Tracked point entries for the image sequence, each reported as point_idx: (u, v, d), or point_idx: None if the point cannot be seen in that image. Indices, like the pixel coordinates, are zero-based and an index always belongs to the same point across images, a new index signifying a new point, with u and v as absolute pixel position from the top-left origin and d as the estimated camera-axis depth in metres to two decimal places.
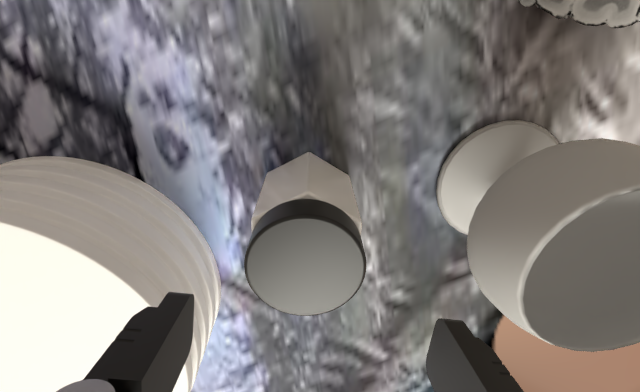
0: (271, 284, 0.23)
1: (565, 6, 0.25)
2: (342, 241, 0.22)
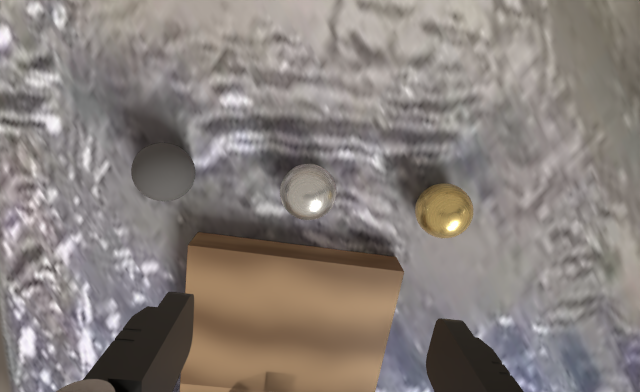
0: None
1: None
2: None
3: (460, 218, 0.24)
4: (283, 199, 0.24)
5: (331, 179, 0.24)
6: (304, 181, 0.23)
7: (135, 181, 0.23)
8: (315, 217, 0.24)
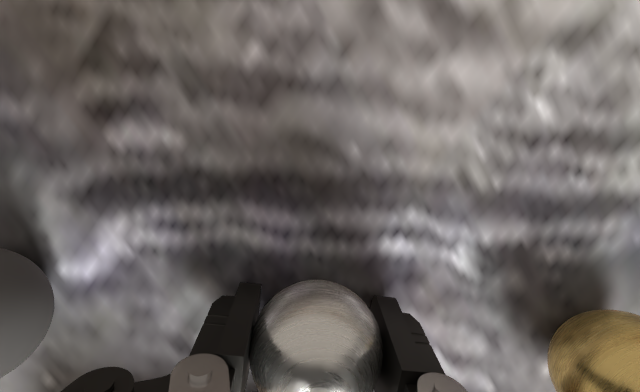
0: None
1: None
2: None
3: None
4: (255, 381, 0.10)
5: (372, 327, 0.10)
6: (306, 351, 0.09)
7: None
8: None
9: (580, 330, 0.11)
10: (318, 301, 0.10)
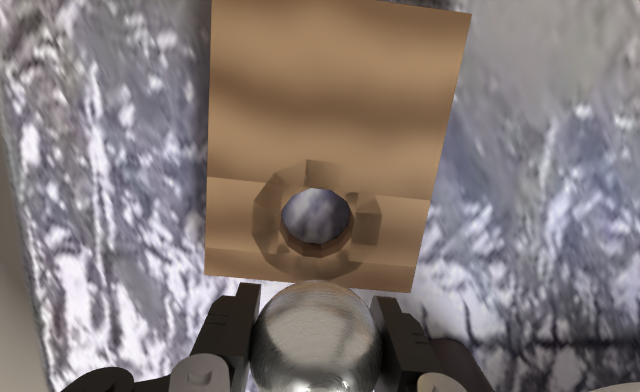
0: None
1: None
2: None
3: None
4: (255, 381, 0.10)
5: (372, 327, 0.10)
6: (306, 351, 0.09)
7: None
8: None
9: None
10: (318, 301, 0.10)
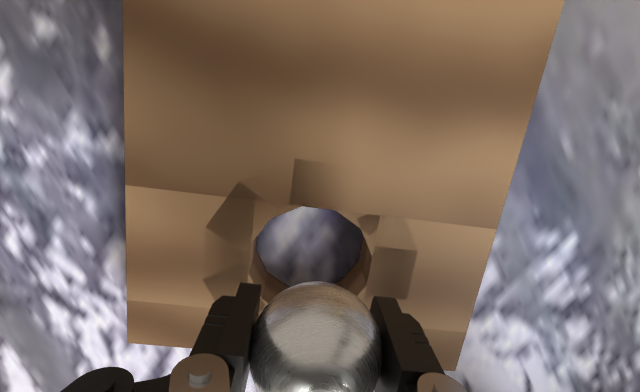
0: None
1: None
2: None
3: None
4: (255, 383, 0.10)
5: (372, 329, 0.10)
6: (306, 353, 0.09)
7: None
8: None
9: None
10: (318, 303, 0.10)
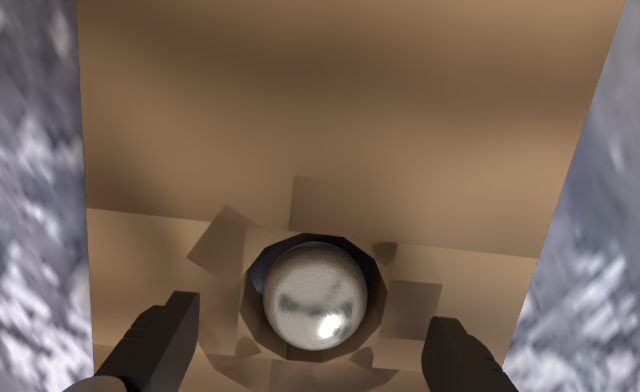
0: None
1: None
2: None
3: None
4: (268, 316, 0.13)
5: (358, 275, 0.13)
6: (307, 288, 0.12)
7: None
8: None
9: None
10: (316, 254, 0.12)
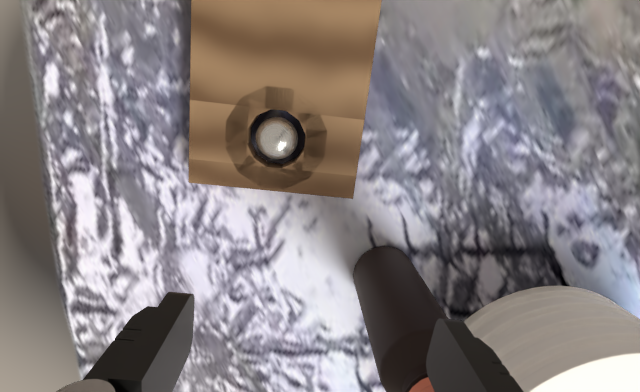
0: None
1: None
2: None
3: None
4: (257, 142, 0.32)
5: (292, 126, 0.33)
6: (271, 126, 0.32)
7: None
8: (281, 155, 0.33)
9: None
10: (275, 117, 0.32)
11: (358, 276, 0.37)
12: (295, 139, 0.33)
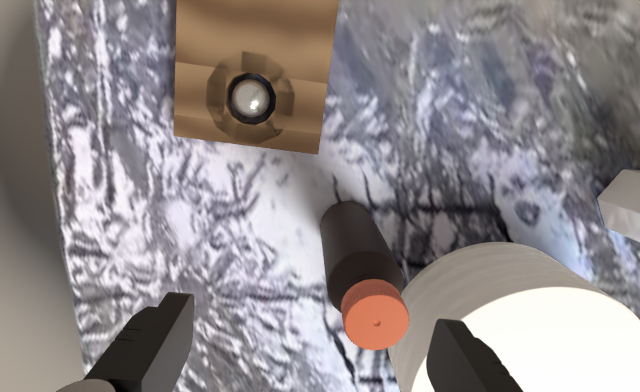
0: None
1: None
2: None
3: None
4: (233, 100, 0.37)
5: (264, 87, 0.37)
6: (244, 86, 0.36)
7: None
8: (253, 112, 0.37)
9: None
10: (249, 79, 0.37)
11: (322, 225, 0.42)
12: (266, 98, 0.37)
